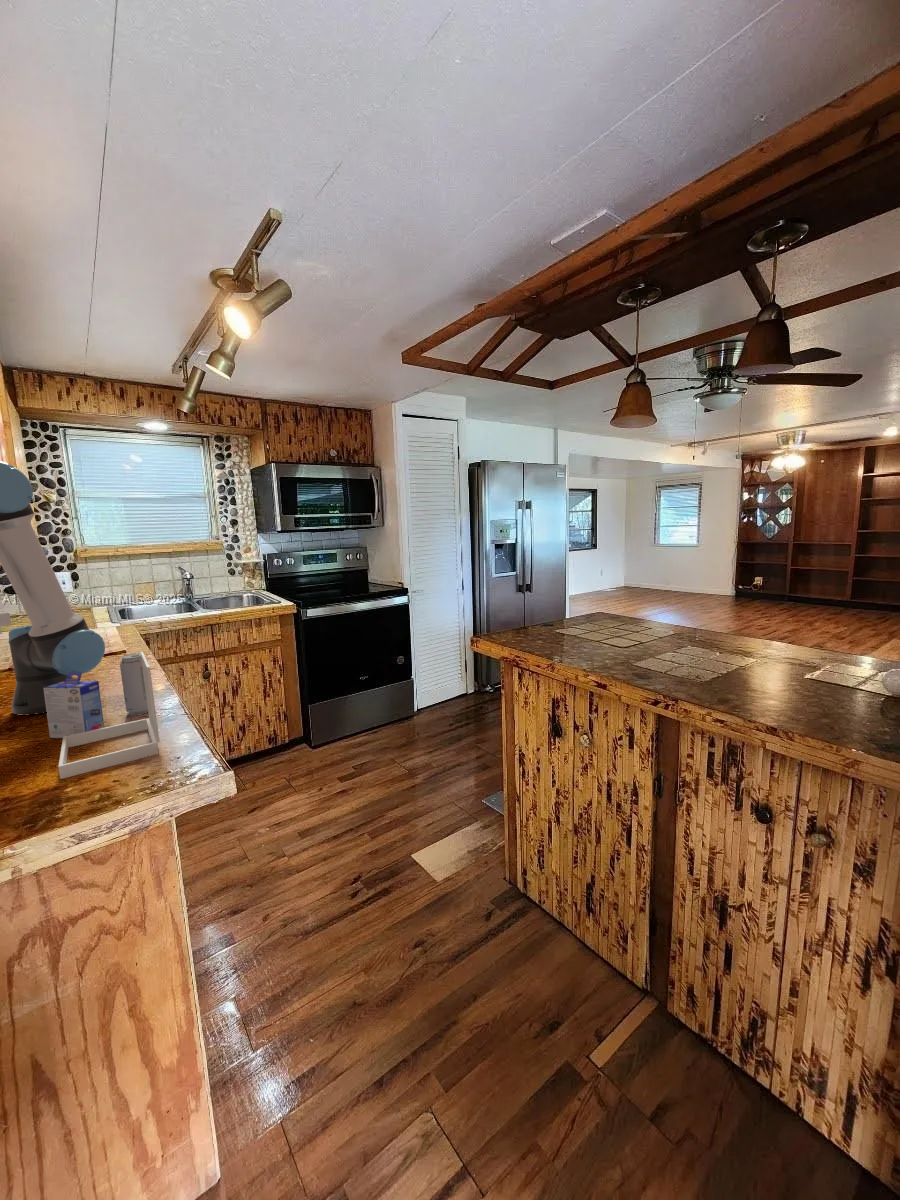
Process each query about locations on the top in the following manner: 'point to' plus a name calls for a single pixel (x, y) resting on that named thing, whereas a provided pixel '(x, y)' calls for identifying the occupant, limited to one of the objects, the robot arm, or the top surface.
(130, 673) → the energy drink can
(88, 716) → the ink cartridge box
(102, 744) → the top surface
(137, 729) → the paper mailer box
